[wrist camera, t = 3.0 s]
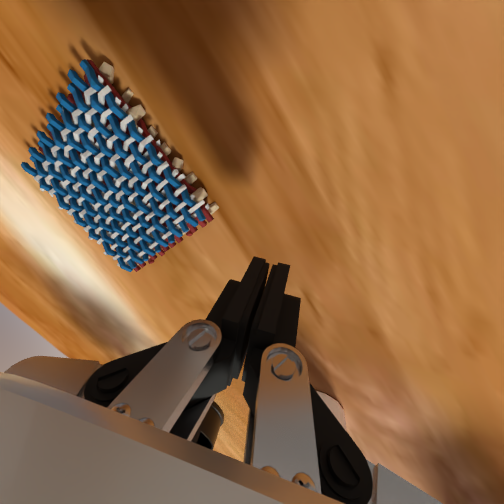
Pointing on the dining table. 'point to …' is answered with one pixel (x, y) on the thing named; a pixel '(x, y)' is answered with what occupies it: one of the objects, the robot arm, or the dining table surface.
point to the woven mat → (116, 172)
